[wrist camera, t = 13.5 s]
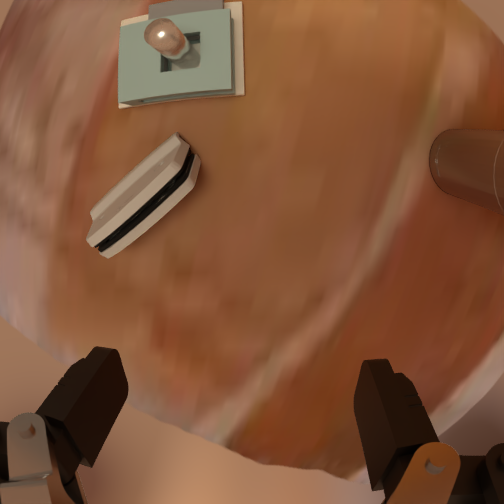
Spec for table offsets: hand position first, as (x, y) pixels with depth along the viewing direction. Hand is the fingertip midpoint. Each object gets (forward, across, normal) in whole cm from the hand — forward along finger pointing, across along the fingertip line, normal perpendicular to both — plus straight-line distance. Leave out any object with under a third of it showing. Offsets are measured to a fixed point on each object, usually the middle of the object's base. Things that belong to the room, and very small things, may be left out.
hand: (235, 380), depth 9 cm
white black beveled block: (+31, +15, -1) cm, 35 cm away
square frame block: (+31, +10, -20) cm, 38 cm away
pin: (+30, +9, -18) cm, 36 cm away
